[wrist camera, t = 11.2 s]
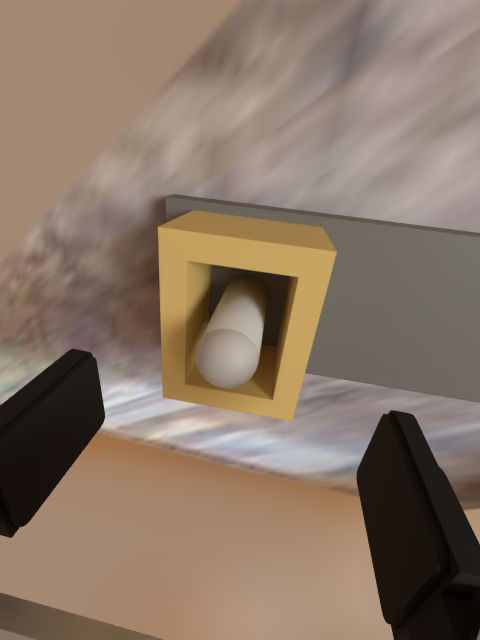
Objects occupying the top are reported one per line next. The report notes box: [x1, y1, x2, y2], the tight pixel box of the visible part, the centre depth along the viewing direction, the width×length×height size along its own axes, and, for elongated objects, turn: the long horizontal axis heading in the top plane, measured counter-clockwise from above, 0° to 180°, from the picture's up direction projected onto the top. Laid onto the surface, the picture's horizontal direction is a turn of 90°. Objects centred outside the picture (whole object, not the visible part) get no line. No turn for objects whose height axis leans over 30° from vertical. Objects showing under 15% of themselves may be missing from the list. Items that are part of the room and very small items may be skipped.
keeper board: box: [166, 195, 480, 402], centre depth 15 cm, size 24×10×9 cm, turn 84°
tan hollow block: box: [158, 210, 337, 421], centre depth 16 cm, size 7×9×5 cm
